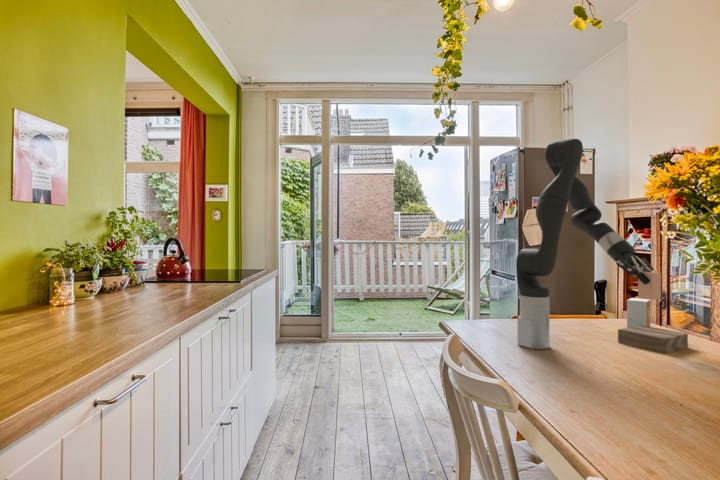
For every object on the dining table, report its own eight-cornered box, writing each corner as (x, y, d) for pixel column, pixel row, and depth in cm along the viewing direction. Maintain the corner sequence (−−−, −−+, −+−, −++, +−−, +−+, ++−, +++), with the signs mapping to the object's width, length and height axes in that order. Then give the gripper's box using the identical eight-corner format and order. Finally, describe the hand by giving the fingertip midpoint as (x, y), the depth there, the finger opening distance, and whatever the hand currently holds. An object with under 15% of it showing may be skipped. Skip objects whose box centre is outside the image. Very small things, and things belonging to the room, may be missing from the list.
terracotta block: (652, 299, 122) (652, 273, 122) (638, 297, 126) (638, 272, 126) (660, 298, 124) (660, 272, 124) (646, 297, 128) (646, 271, 128)
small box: (647, 336, 135) (647, 301, 135) (626, 333, 140) (626, 299, 140) (651, 333, 141) (650, 299, 141) (630, 330, 145) (630, 297, 145)
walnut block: (665, 354, 115) (665, 339, 115) (618, 343, 128) (618, 329, 128) (687, 348, 122) (687, 333, 122) (640, 338, 134) (640, 325, 134)
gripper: (610, 239, 130) (648, 276, 119) (635, 239, 136) (674, 274, 124) (596, 253, 135) (631, 290, 124) (621, 253, 141) (656, 288, 129)
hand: (652, 282), depth 124 cm, fingers closed on terracotta block, 4 cm apart
